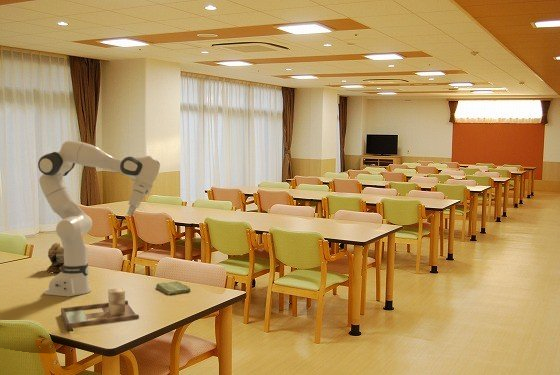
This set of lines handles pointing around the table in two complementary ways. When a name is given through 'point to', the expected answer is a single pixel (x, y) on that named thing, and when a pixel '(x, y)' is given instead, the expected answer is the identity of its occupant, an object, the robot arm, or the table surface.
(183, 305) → the table surface
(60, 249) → the owl figurine
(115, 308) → the maple block
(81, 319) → the tray
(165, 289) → the washcloth
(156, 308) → the table surface
